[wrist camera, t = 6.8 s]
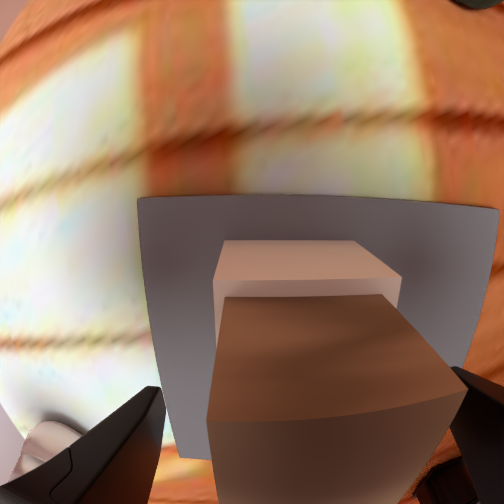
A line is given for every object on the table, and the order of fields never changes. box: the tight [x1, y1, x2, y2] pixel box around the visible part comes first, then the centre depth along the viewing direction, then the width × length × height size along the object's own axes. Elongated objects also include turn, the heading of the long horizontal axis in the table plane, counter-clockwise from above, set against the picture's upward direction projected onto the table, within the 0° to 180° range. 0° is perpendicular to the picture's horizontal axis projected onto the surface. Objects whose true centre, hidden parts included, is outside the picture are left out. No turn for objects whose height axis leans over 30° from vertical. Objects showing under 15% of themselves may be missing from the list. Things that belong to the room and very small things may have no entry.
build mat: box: [137, 195, 500, 460], centre depth 16 cm, size 20×18×1 cm
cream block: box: [213, 240, 402, 348], centre depth 12 cm, size 6×6×5 cm
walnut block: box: [206, 294, 468, 504], centre depth 7 cm, size 5×5×5 cm
